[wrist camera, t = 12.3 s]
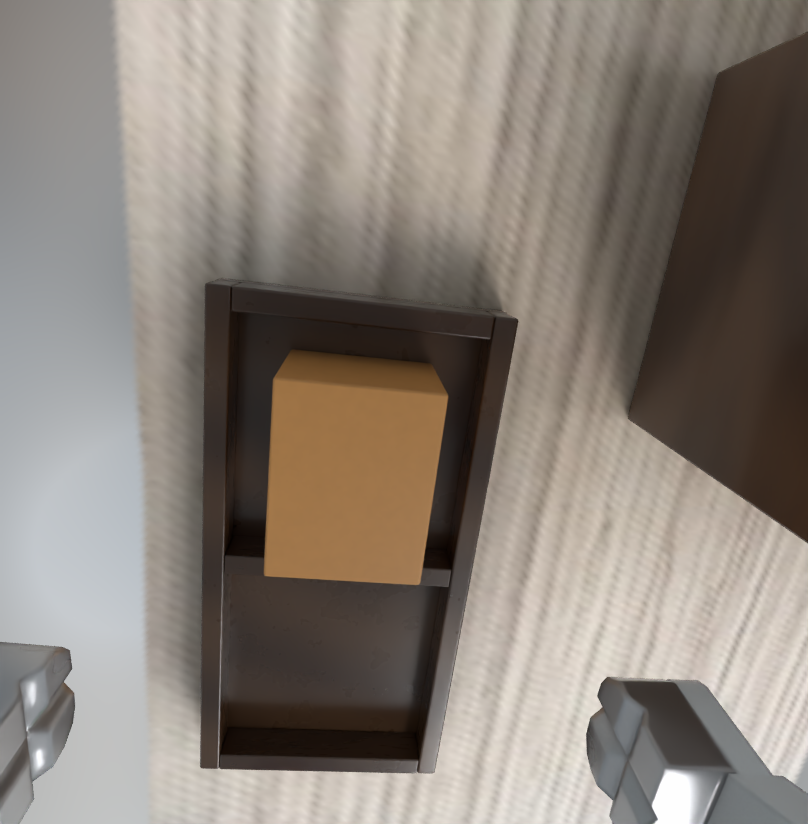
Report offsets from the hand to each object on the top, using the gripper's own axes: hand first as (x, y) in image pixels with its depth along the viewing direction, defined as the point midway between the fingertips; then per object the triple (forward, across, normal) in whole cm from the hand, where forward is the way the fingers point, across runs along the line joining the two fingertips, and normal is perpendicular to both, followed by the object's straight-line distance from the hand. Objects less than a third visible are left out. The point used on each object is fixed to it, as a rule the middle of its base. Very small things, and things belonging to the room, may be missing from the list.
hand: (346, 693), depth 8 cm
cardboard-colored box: (+12, 0, +1) cm, 12 cm away
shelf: (+13, 0, +5) cm, 14 cm away
